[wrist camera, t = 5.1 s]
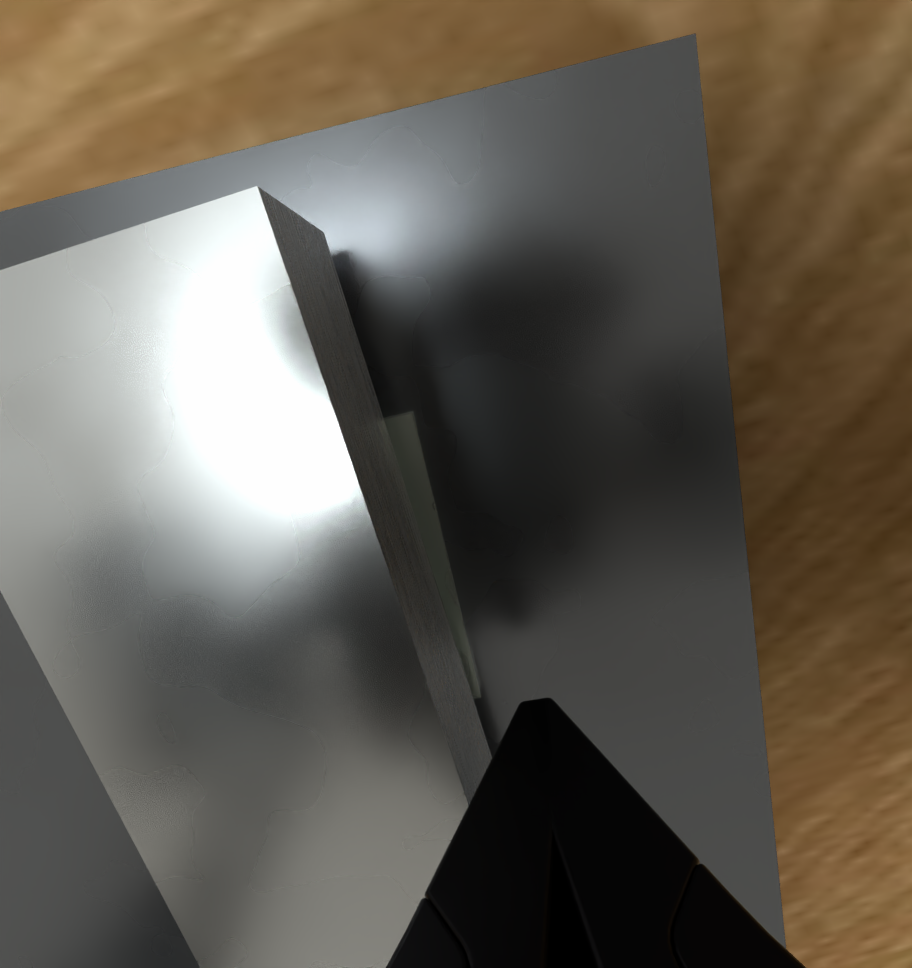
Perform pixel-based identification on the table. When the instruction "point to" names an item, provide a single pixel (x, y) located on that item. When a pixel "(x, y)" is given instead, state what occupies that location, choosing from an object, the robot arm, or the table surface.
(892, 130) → the table surface
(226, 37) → the table surface
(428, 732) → the metal bar
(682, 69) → the label panel
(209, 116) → the table surface
